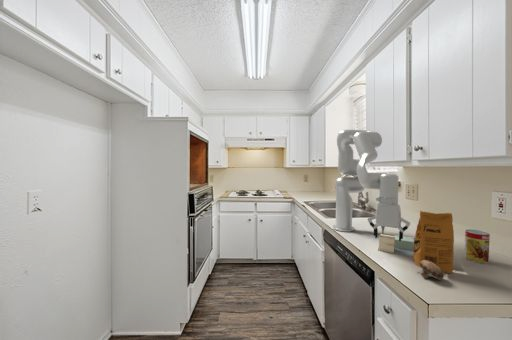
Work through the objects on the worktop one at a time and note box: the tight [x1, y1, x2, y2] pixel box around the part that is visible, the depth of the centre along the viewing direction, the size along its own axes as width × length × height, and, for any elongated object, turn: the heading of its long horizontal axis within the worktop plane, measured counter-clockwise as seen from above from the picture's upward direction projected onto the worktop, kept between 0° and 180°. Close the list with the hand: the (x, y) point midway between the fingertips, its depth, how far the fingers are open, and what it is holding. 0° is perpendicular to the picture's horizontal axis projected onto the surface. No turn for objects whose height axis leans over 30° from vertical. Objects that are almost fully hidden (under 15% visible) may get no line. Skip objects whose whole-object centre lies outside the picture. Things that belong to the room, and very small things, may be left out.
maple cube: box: [378, 233, 395, 254], centre depth 119 cm, size 6×6×6 cm
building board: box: [377, 247, 413, 258], centre depth 121 cm, size 17×15×1 cm
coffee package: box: [412, 210, 455, 274], centre depth 101 cm, size 10×12×22 cm
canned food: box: [464, 229, 491, 264], centre depth 111 cm, size 8×8×12 cm
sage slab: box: [393, 234, 415, 251], centre depth 123 cm, size 8×8×4 cm
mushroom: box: [419, 260, 444, 281], centre depth 92 cm, size 8×8×6 cm
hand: (387, 238), depth 118 cm, fingers open, 9 cm apart
